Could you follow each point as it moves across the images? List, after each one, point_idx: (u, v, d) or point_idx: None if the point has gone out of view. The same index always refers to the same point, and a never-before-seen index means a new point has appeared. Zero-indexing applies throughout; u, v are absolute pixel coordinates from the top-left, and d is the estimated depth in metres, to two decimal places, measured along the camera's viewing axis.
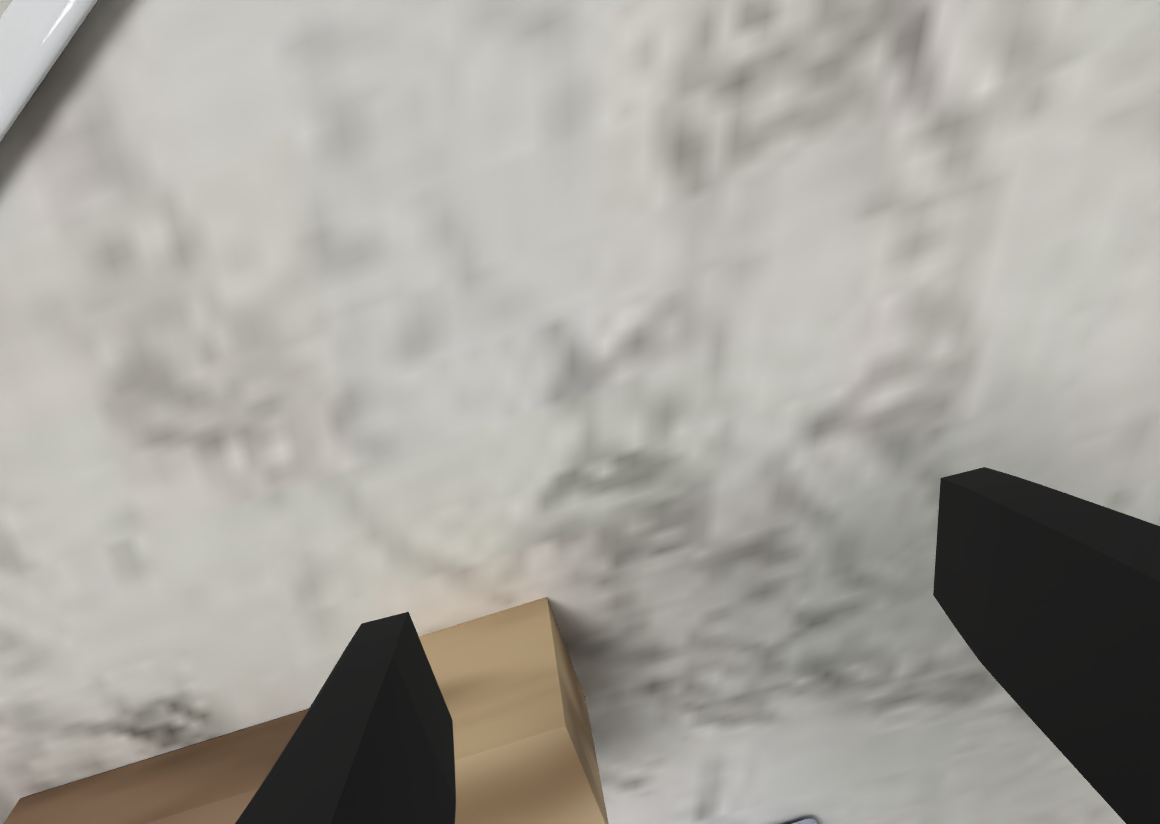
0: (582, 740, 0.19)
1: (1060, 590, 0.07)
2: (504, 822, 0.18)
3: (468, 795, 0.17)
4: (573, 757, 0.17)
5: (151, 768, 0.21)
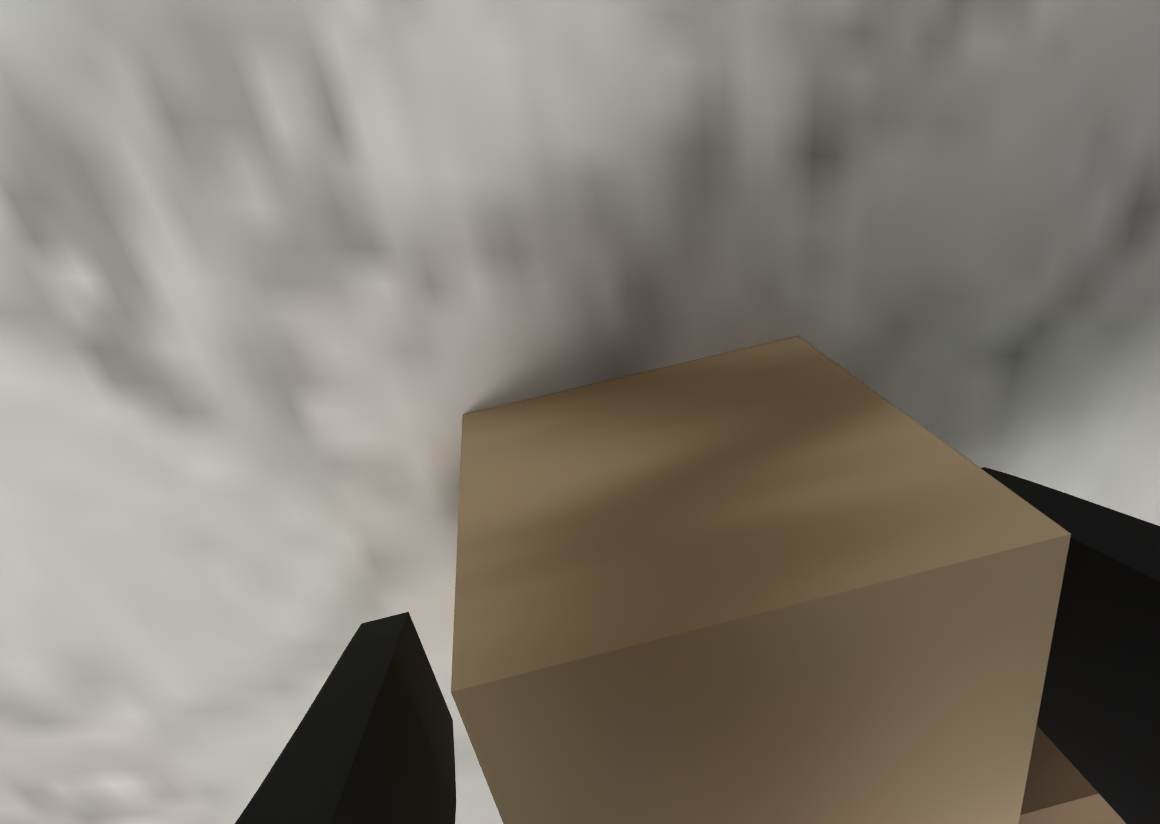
0: (715, 505, 0.06)
1: None
2: (827, 801, 0.06)
3: None
4: (613, 662, 0.05)
5: None
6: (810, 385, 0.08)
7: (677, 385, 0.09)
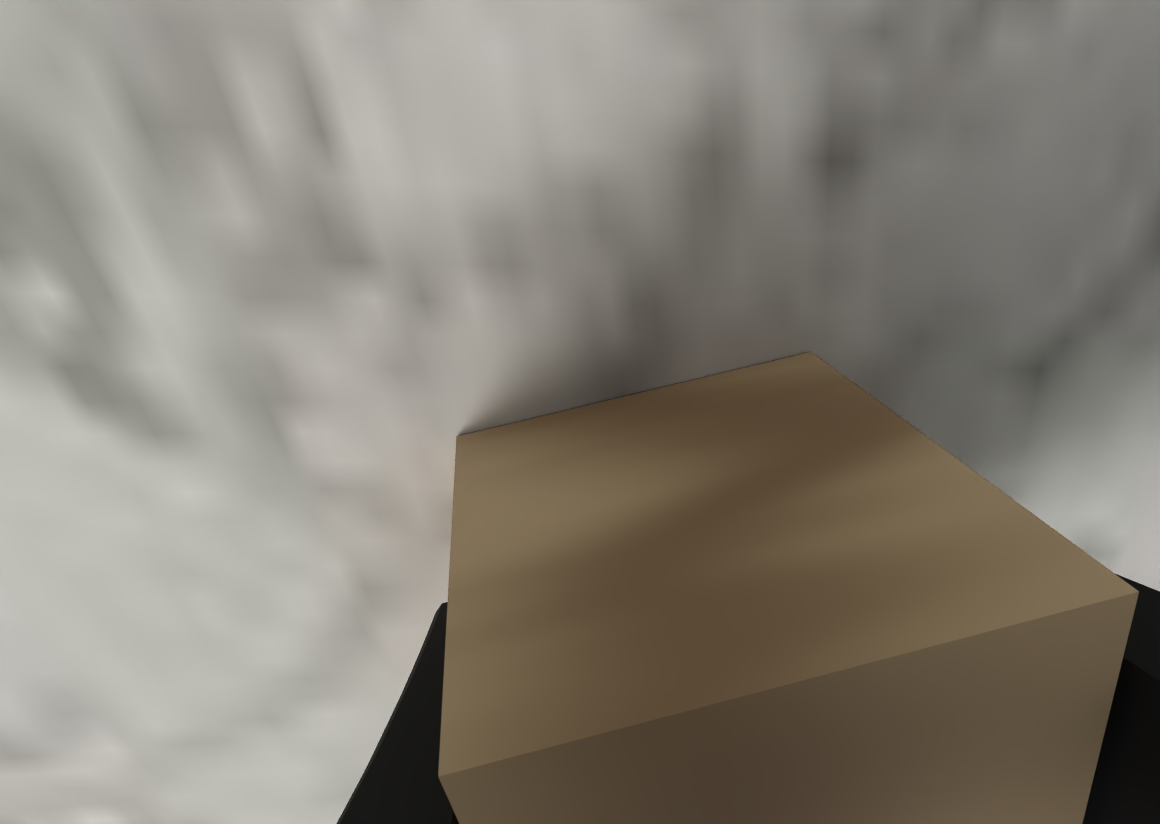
0: (732, 549, 0.06)
1: None
2: None
3: None
4: (622, 741, 0.04)
5: None
6: (830, 409, 0.08)
7: (686, 408, 0.08)
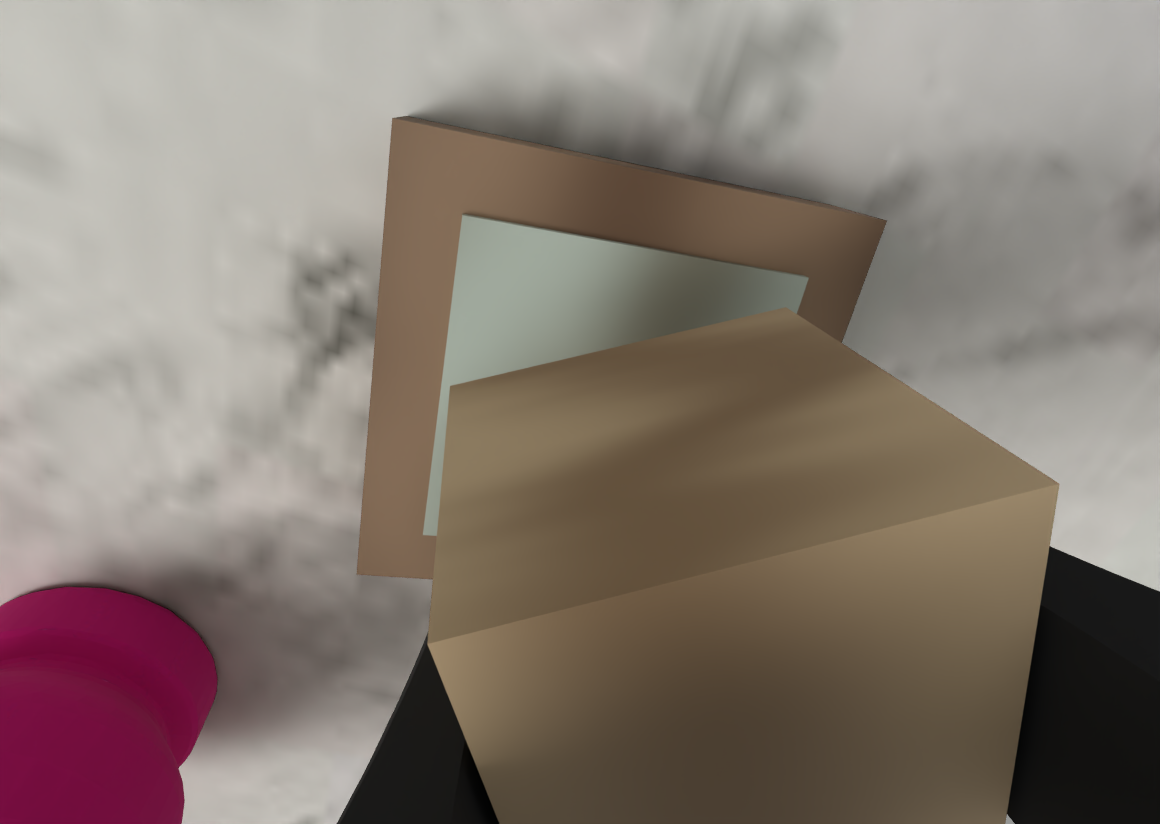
0: (700, 465, 0.06)
1: None
2: (814, 765, 0.06)
3: None
4: (594, 615, 0.05)
5: None
6: (799, 353, 0.08)
7: (666, 356, 0.09)
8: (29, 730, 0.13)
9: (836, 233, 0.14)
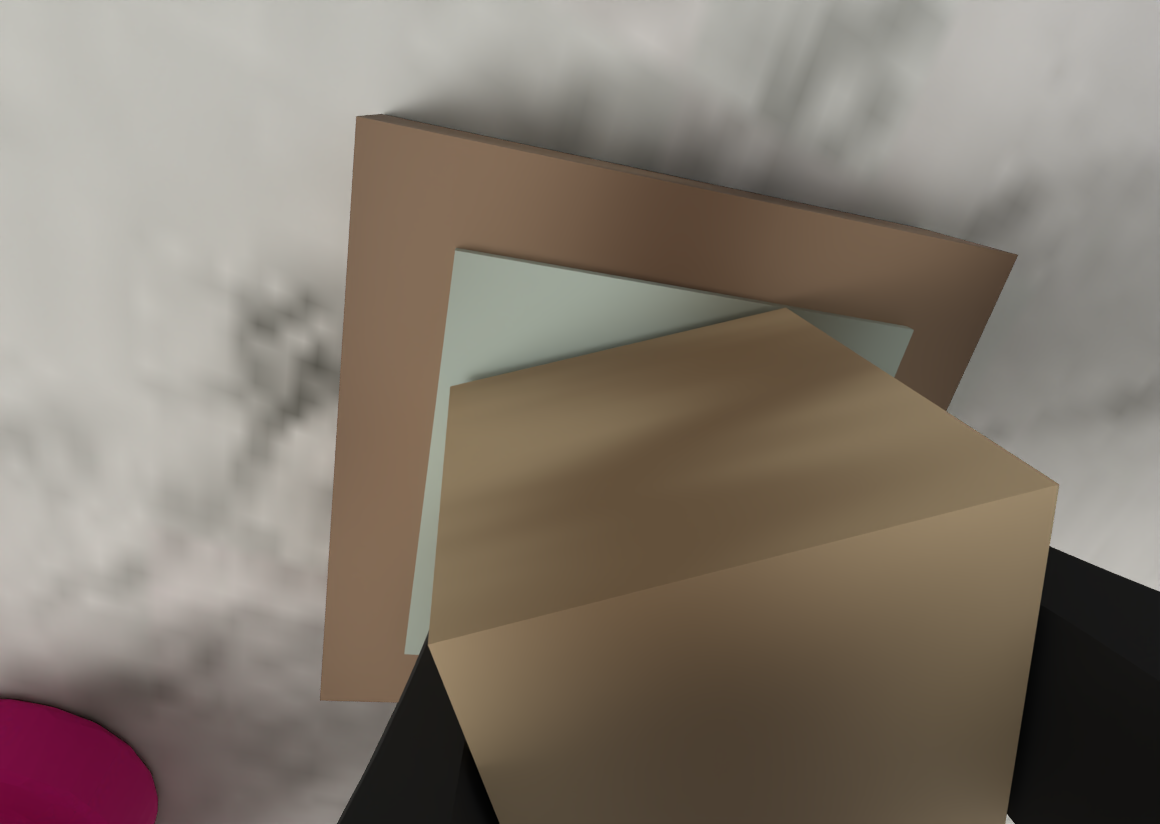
0: (700, 466, 0.06)
1: None
2: (813, 765, 0.06)
3: None
4: (594, 616, 0.05)
5: None
6: (799, 354, 0.08)
7: (666, 357, 0.09)
8: None
9: (951, 271, 0.10)
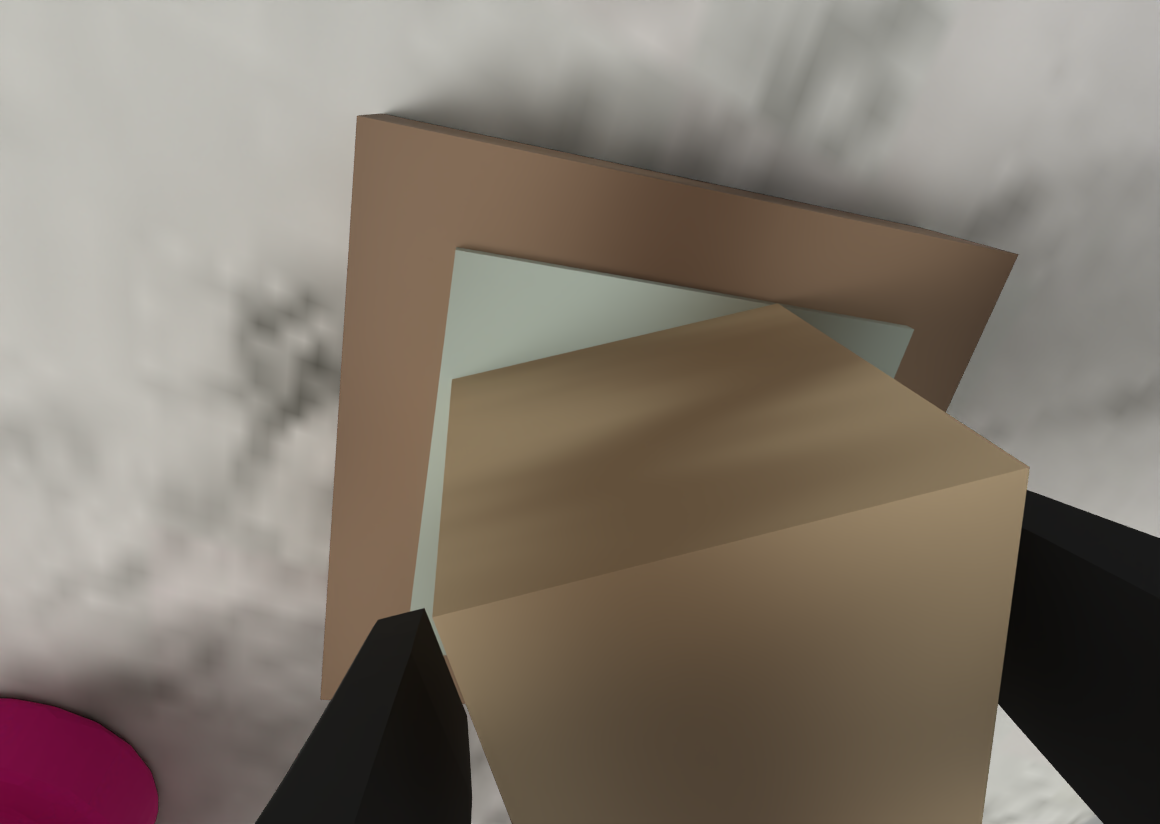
0: (691, 452, 0.07)
1: (1041, 593, 0.07)
2: (800, 738, 0.06)
3: (662, 808, 0.07)
4: (588, 591, 0.05)
5: None
6: (789, 347, 0.08)
7: (661, 350, 0.09)
8: None
9: (952, 271, 0.10)
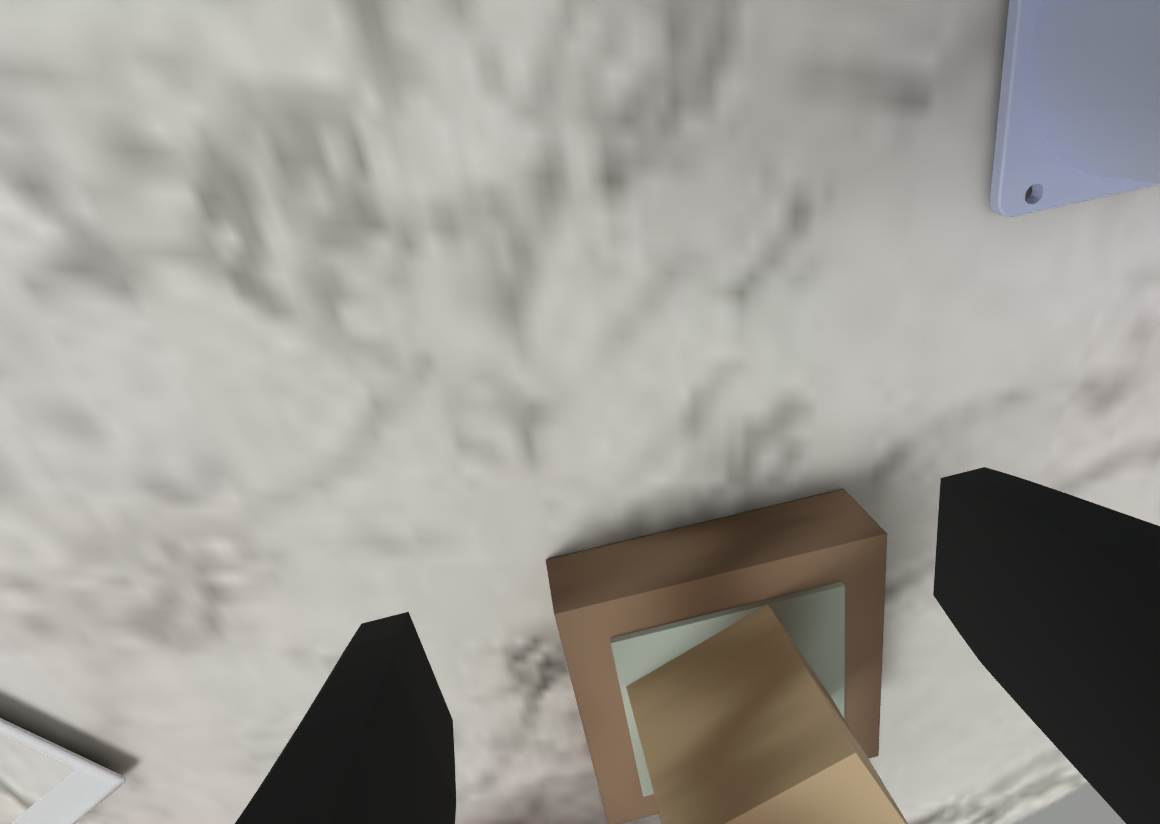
0: (740, 747, 0.17)
1: (1060, 589, 0.07)
2: None
3: None
4: None
5: None
6: (774, 654, 0.18)
7: (717, 656, 0.19)
8: None
9: (854, 553, 0.19)
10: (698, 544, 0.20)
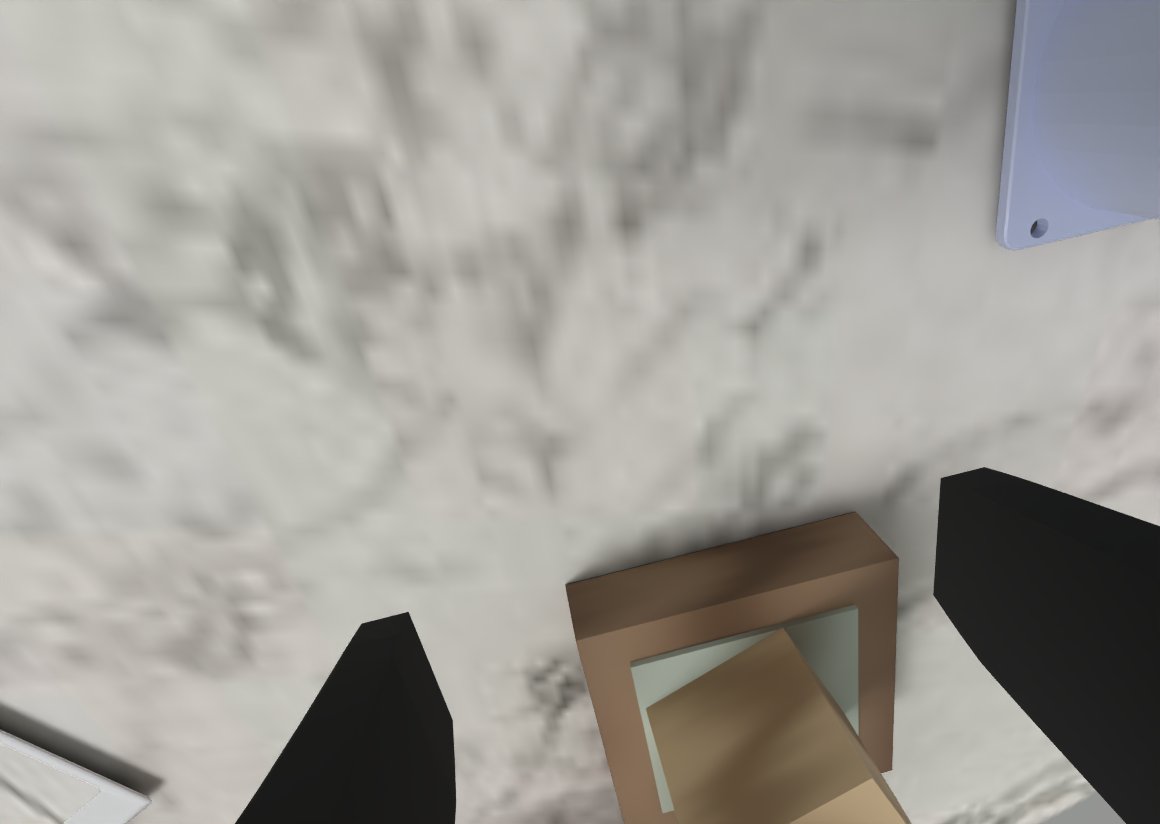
0: (759, 771, 0.17)
1: (1059, 588, 0.07)
2: None
3: None
4: None
5: None
6: (790, 678, 0.19)
7: (735, 680, 0.20)
8: None
9: (866, 577, 0.20)
10: (714, 569, 0.21)
